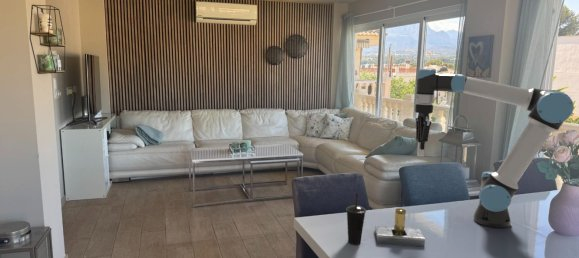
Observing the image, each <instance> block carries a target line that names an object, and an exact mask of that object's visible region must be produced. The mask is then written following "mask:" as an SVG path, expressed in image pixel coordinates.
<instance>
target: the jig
mask: <svg viewBox="0 0 579 258" xmlns="http://www.w3.org/2000/svg"><path fill="white" fill-rule="evenodd" d="M374 233H375V238H376V243H377V244H385V245H386V244H388V245H397V244H398V245H399V246H411V247H426V246H425V243H426V238H425V237H424V235H423V234H422V233H423V232H421V230H420V228H418V227H417V228H414V227H405V228H404V236H401V235H394V226H387V225H375V227H374ZM398 245H397V246H398Z"/></svg>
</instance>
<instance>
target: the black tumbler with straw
mask: <svg viewBox="0 0 579 258" xmlns="http://www.w3.org/2000/svg"><path fill="white" fill-rule="evenodd" d="M358 196H359V193H358V192H356V193H355V204H354V205H350V206H347V207H346V210H345V211H346V219H347V220H346V221H347V242H348V244H350V245H354V246H358V245H360V244H361V242H362V236H363V229H364V223H365V215H366V213H367V208H365V207H363V206H361V205H358V199H359V198H358Z"/></svg>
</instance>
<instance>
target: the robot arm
mask: <svg viewBox="0 0 579 258" xmlns="http://www.w3.org/2000/svg"><path fill="white" fill-rule="evenodd" d="M435 92H447V93H448V92H449V93H452V92H453V93H462V94H467V95H470V96H475V97H480V98H484V99H488V100H492V101H496V102H499V103H500V102H501V103H505V104H509V105H513V106H516V107H517V106H518V107H521V108H522V107H523V108H524V110H525V111H529V114H528V115H527V118H528V123H527V124H526V126H525V127H524V129H523V130H522V132H521V134H520V135H519V137H518V138H517V140H516V141H515V143H514V145H513V146H512V147H511V149H510V150H509V152H508V154H507V155H506V157H505V158H504V159H503V161H502V163H501V164H500V166H499V168H498V169H497V171H483V172H482V174H481V178H480V179H481V182H480V189H479V192H478V199H479V203H478V205H477V208H476V209H475V212H474V214H473V221H474V222H475V223H477V224H479V225H482V226H484V227H490V228H495V229H496V228H497V229H505V228H506V229H507V228H509V227H510V226H511V221H512V220H511V217H510V211H509V209H508V208H509V206H510V205H511V203H512V198H513V197H514V196H515V194H516V192H517V191H518V190H519V185H518V182H519V181H520V179H521V178H522V177H523V174H525V171H526V170H527V169H528V167H529V166H530V164H531V163H532V161H533V160H534V158H535V157H536V155H537V154H538V152H539V151H540V150H541V148H542V147H543V146H544V144H545V143H546V141H547V139H548V138H549V137H550V135H551V134H552V133H553V132H557V131H559V129H560V128H561V126H562V125H563V124H564V123H565V122H566V121H567V120H568V119H569V118H570V117H571V115H572V114H573V111H574V103H573V100H572V98H571V96H569V95H568V94H567V93H565V92H562V91H559V90H553V89H549V90H548V89H541V88H540V89H539V88H534V87H532V88H530V89H527V88H523V87H518V86H513V85H508V84H505V83H499V82H495V81H489V80H485V79H480V78H476V77H471V76H466V75H464V74H459V73H437V70H436V69H435V68H420V69H418V72H417V79H416V94H415V96H414V98H415V108H414V112H415V113H417V114H418V115H417V117H415V137H416V140H417V152H416V156H417V157H421V158H423V157H425V149H426V143H427V142H428V140H429V135H430V129H431V126H432V121H430V114H433V113H434V101H435Z"/></svg>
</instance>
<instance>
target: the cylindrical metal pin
mask: <svg viewBox="0 0 579 258" xmlns="http://www.w3.org/2000/svg"><path fill="white" fill-rule="evenodd" d="M406 212H407V210H406V209H405V208H395V211H394V224H393V225H394V226H393V227H394V235H401V236H404V228H406V227H405V226H406V224H405V223H406Z"/></svg>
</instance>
